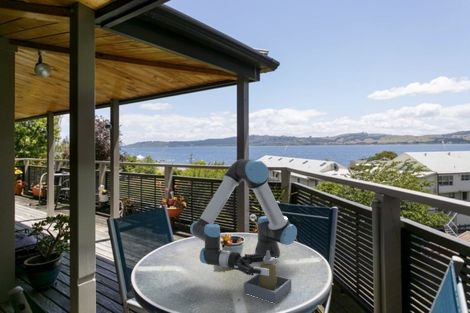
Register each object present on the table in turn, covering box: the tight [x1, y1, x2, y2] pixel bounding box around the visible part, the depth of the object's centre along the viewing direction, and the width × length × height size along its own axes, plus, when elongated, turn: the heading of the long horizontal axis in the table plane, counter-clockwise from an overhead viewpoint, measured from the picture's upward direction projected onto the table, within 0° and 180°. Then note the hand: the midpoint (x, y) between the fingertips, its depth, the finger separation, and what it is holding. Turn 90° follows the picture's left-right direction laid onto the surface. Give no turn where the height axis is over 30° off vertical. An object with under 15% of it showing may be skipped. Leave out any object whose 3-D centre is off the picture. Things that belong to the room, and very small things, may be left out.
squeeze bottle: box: [259, 251, 277, 291], centre depth 140 cm, size 8×8×18 cm
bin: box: [243, 274, 292, 304], centre depth 141 cm, size 16×16×5 cm
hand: (273, 266), depth 139 cm, fingers open, 13 cm apart
